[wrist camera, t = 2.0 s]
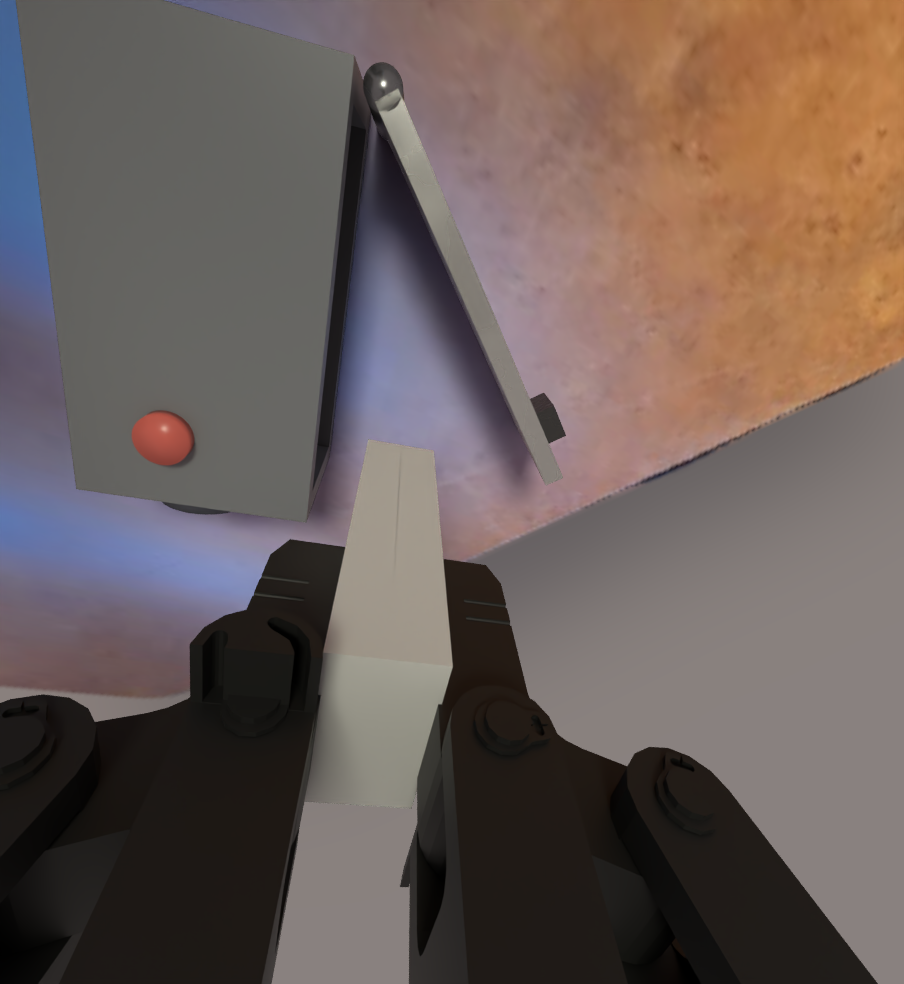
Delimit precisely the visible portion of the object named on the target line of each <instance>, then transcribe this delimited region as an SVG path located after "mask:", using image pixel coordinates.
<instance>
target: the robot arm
mask: <svg viewBox="0 0 904 984" xmlns="http://www.w3.org/2000/svg"><path fill="white" fill-rule="evenodd" d="M505 606H506V603H505V599H504V595H503V591H502V586H501V583H500V582H499V581H498V580H497V578H496V577H495V576H494V575H493V573H492V572H491V571H490V570H489V569H488V567H487V566H486V565H481V564H474V563H467V562H460V561H453V560H446V559H443V551H442V540H441V529H440V518H439V506H438V495H437V484H436V473H435V461H434V451H432V450H426V449H421V448H415V447H409V446H403V445H398V444H392V443H386V442H380V441H375V440H369V439H368V444H367V449H366V453H365V458H364V463H363V467H362V472H361V477H360V481H359V486H358V491H357V495H356V500H355V505H354V510H353V514H352V519H351V524H350V528H349V533H348V538H347V542H346V547H340V546H333V545H326V544H319V543H312V542H305V541H298V540H291V539H290V540H289V541H288V542H286V543H285V544H284V545H282V546H281V547H280V548H279V549H277V550H276V551H275V552H273V553H272V554H271V555H270V557H269V560H268V562H267V564H266V566H265V569H264V571H263V573H262V577H261V579H260V580H259V582H258V585H257V587H256V589H255V592H254V596H252V598H251V601H250V603H249V605H248V608H247V610H244V611H240V612H236V613H232V614H229V615H225V616H223V617H221V618H220V619H218V620H216V621H214V622H213V623H211V624H209V625H207V626H206V627H204V628H203V629H202V630H201V632H200V633H199V634H198V635H197V636H196V638H195V639H194V640H193V641H192V642H191V643H190V698H188V699H187V700H184V701H182V702H180V703H177V704H175V705H173V706H171V707H169V708H165V709H161V710H157V711H153V712H150V713H145V714H139V715H133V716H128V717H122V718H116V719H110V720H105V721H99V722H94V720H93V718H92V716H91V713H90V711H89V709H88V708H86V707H84V706H83V705H81V704H79V703H78V702H76V701H74V700H72V699H71V698H67V697H58V696H51V695H36V696H30V697H23V698H16V699H10V700H7V701H5V702H2V703H0V984H271V983H272V978H273V972H274V967H275V961H276V956H277V950H278V945H279V940H280V935H281V929H282V923H283V918H284V913H285V907H286V902H287V897H288V891H289V886H290V880H291V875H292V870H293V864H294V859H295V854H296V848H297V841H298V833H299V827H300V821H301V816H302V811H303V805H304V802H319V803H334V804H335V803H336V804H350V805H365V806H381V807H396V808H412V804H413V802H414V798H415V795H416V791H417V801H418V802H417V803H418V804H417V815H418V823H417V826H416V830H415V833H414V836H413V840H412V843H411V846H410V850H409V853H408V856H407V859H406V863H405V866H404V870H403V875H402V880H401V885H400V887H409V884H410V928H409V984H878V983H877V982H876V981H875V980H874V978H873V977H872V976H871V974H870V973H869V972H868V970H867V969H866V968H865V966H864V965H863V964H862V963H861V961H860V960H859V959H858V958H857V956H856V955H855V954H854V952H853V951H852V950H851V948H850V947H849V946H848V944H847V943H846V942H845V941H844V939H843V938H842V937H841V935H840V934H839V933H838V932H837V930H836V929H835V927H834V926H833V925H832V924H831V922H830V921H829V920H828V918H827V917H826V916H825V914H824V913H823V912H822V911H821V909H820V908H819V907H818V906H817V904H816V903H815V901H814V900H813V899H812V898H811V896H810V895H809V894H808V892H807V891H806V890H805V888H804V887H803V886H802V885H801V883H800V882H799V881H798V879H797V878H796V877H795V875H794V874H793V873H792V872H791V870H790V869H789V868H788V866H787V865H786V864H785V862H784V861H783V860H782V859H781V857H780V856H779V855H778V854H777V852H776V851H775V850H774V848H773V847H772V846H771V844H770V843H769V842H768V840H767V839H766V838H765V836H764V835H763V834H762V833H761V831H760V830H759V829H758V827H757V826H756V825H755V824H754V822H753V821H752V820H751V819H750V817H749V816H748V814H747V813H746V812H745V811H744V809H743V808H742V807H741V805H740V804H739V803H738V801H737V800H736V799H735V798H734V796H733V795H732V794H731V792H730V791H729V790H728V789H727V788H726V787H725V786H724V785H723V784H722V782H721V781H720V780H719V779H718V778H717V777H716V776H715V775H714V774H713V773H712V772H711V771H710V770H708V769H707V768H705V767H704V766H703V765H701V764H699V763H698V762H697V761H695V760H694V759H692V758H691V757H690V756H687V755H685V754H682V753H679V752H677V751H674V750H672V749H669V748H658V747H648V748H646V749H644V750H641V751H639V752H637V753H635V754H634V756H633V758H632V759H631V761H630V763H629V765H628V766H624V765H622V764H620V763H617V762H615V761H612V760H609V759H607V758H604V757H602V756H599V755H597V754H594V753H592V752H589V751H587V750H584V749H581V748H580V747H578V746H576V745H574V744H572V743H570V742H568V741H566V740H564V739H563V738H562V737H560V736H559V735H558V734H557V733H556V730H555V728H554V726H553V724H552V722H551V720H550V718H549V716H548V715H547V714H546V713H545V712H544V711H543V710H542V709H541V708H540V707H539V705H537V703H536V702H535V701H533V700H532V699H530V698H529V696H528V693H527V689H526V684H525V681H524V676H523V672H522V668H521V664H520V660H519V656H518V652H517V648H516V644H515V640H514V635H513V632H512V627H511V626H510V620H509V615H508V611H507V608H505Z"/></svg>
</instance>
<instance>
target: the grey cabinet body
mask: <svg viewBox="0 0 904 984" xmlns="http://www.w3.org/2000/svg"><path fill="white" fill-rule="evenodd" d="M16 6H17V14H18V22H19V31H20V39H21V47H22V55H23V63H24V71H25V79H26V87H27V95H28V103H29V111H30V119H31V127H32V135H33V143H34V151H35V160H36V168H37V176H38V184H39V192H40V200H41V208H42V216H43V224H44V232H45V240H46V248H47V256H48V264H49V272H50V280H51V289H52V297H53V305H54V313H55V321H56V329H57V337H58V345H59V353H60V361H61V369H62V377H63V385H64V393H65V401H66V409H67V418H68V426H69V434H70V442H71V450H72V458H73V466H74V474H75V482H76V489H79V490H86V491H93V492H100V493H106V494H113V495H120V496H127V497H134V498H141V499H148V500H154V501H161V502H162V503H164V504H165V505H167V506H169V507H171V508H173V509H176V510H179V511H183V512H188V513H194V514H222V513H228V512H237V513H244V514H250V515H257V516H264V517H271V518H278V519H285V520H292V521H298V522H305V523H306V522H307V519H308V516H309V513H310V510H311V508H312V505H313V502H314V499H315V496H316V494H317V491H318V488H319V485H320V482H321V480H322V477H323V474H324V471H325V468H326V466H327V463H328V460H329V457H330V449H331V441H332V433H333V424H334V416H335V407H336V399H337V391H338V382H339V374H340V365H341V357H342V349H343V340H344V332H345V323H346V315H347V307H348V298H349V290H350V281H351V273H352V265H353V256H354V248H355V239H356V231H357V223H358V214H359V206H360V197H361V189H362V180H363V172H364V164H365V155H366V147H367V138H368V130H369V122H370V113H371V111H370V108H369V105H368V103H367V100H366V97H365V95H364V90H363V79H362V76H361V73H360V70H359V67H358V65H357V62H356V59H355V56H354V55H351V54H347V53H344V52H340V51H337V50H333V49H330V48H327V47H323V46H320V45H316V44H313V43H309V42H306V41H302V40H299V39H295V38H292V37H288V36H285V35H282V34H278V33H275V32H271V31H268V30H264V29H261V28H257V27H254V26H250V25H247V24H243V23H240V22H237V21H233V20H230V19H226V18H223V17H219V16H216V15H212V14H209V13H205V12H202V11H199V10H195V9H192V8H188V7H185V6H181V5H178V4H174V3H171V2H167V1H164V0H16Z"/></svg>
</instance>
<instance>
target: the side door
mask: <svg viewBox="0 0 904 984" xmlns="http://www.w3.org/2000/svg"><path fill="white" fill-rule="evenodd" d="M363 90H364V95H365V97H366V100H367V103H368V105H369V108H370V111H371V113H372V116H373V119H374V121H375V124H376V127H377V129H378V132H379V134H380V135H381V136H382V137H383V138H384V139H386V140H388V142H389V144H390V146H391V149H392V151H393V153H394V155H395V158H396V160H397V162H398V164H399V167H400V169H401V171H402V173H403V175H404V178H405V180H406V182H407V184H408V187H409V189H410V191H411V193H412V195H413V198H414V200H415V202H416V204H417V207H418V209H419V211H420V213H421V215H422V218H423V220H424V222H425V224H426V227H427V229H428V231H429V233H430V235H431V238H432V240H433V242H434V244H435V247H436V249H437V251H438V253H439V256H440V258H441V260H442V262H443V264H444V267H445V269H446V271H447V273H448V276H449V278H450V280H451V282H452V284H453V287H454V289H455V291H456V293H457V296H458V298H459V300H460V302H461V304H462V307H463V309H464V311H465V313H466V316H467V318H468V320H469V322H470V325H471V327H472V329H473V331H474V333H475V336H476V338H477V340H478V342H479V345H480V347H481V349H482V351H483V353H484V356H485V358H486V360H487V362H488V365H489V367H490V369H491V371H492V373H493V376H494V378H495V380H496V382H497V385H498V387H499V389H500V391H501V393H502V396H503V398H504V400H505V402H506V405H507V407H508V409H509V411H510V414H511V416H512V418H513V420H514V422H515V425H516V427H517V429H518V431H519V433H520V435H521V437H522V439H523V441H524V443H525V445H526V447H527V449H528V451H529V453H530V455H531V457H532V459H533V461H534V463H535V465H536V467H537V469H538V471H539V473H540V475H541V477H542V479H543V481H544V483H545V485H548V484H551V483H553V482H555V481H557V480H559V479H562V478H563V476H562V474H561V472H560V469H559V467H558V464H557V462H556V460H555V457H554V455H553V453H552V450H551V448H550V446H549V443H551V442H553V441H555V440H557V439H560V438H562V437H564V436H566V435H565V432H564V430H563V427H562V425H561V422H560V420H559V417H558V415H557V412H556V410H555V407H554V405H553V404H552V403H551V401H550V400H549V399H548V397H547V396H546V395H545V394H544V393H542V394H540V395H538V396H536V397H533V398H531V399H530V398H529V396H528V394H527V391H526V389H525V387H524V384H523V382H522V380H521V377H520V375H519V372H518V370H517V368H516V365H515V363H514V361H513V358H512V356H511V354H510V351H509V349H508V347H507V344H506V342H505V339H504V337H503V335H502V332H501V330H500V328H499V325H498V323H497V321H496V318H495V316H494V313H493V311H492V309H491V306H490V304H489V302H488V299H487V297H486V295H485V292H484V290H483V288H482V285H481V283H480V280H479V278H478V276H477V273H476V271H475V269H474V266H473V264H472V262H471V259H470V257H469V254H468V252H467V250H466V247H465V245H464V243H463V240H462V238H461V236H460V233H459V231H458V229H457V226H456V224H455V221H454V219H453V217H452V214H451V212H450V210H449V207H448V205H447V203H446V200H445V198H444V196H443V193H442V191H441V188H440V186H439V184H438V181H437V179H436V177H435V174H434V172H433V170H432V167H431V165H430V162H429V160H428V158H427V155H426V153H425V151H424V148H423V146H422V144H421V141H420V139H419V137H418V134H417V132H416V129H415V127H414V125H413V122H412V120H411V118H410V115H409V113H408V111H407V108H406V106H405V103H404V94H403V83H402V79H401V77H400V75H399V73H398V71H397V70H396V69H395V68H394V67H393V66H391V65H390V64H387V63H384V62H380V63H376V64H374V65H372V66H371V67H370V68H369V69H368V70H367V72H366V74H365V76H364V80H363Z"/></svg>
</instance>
